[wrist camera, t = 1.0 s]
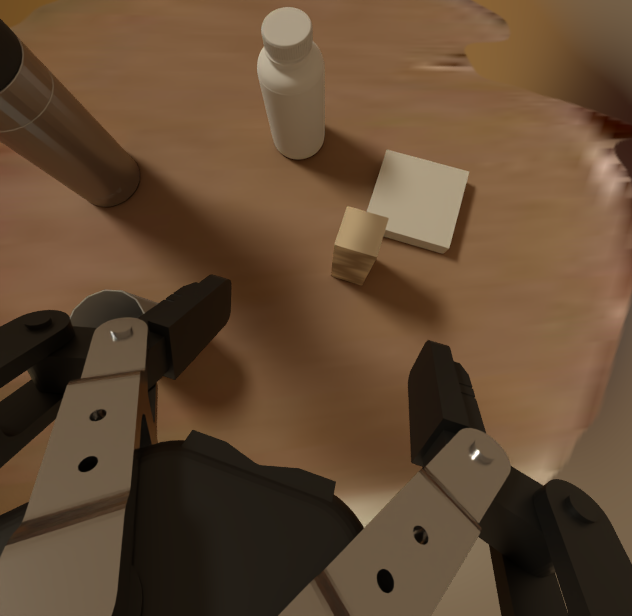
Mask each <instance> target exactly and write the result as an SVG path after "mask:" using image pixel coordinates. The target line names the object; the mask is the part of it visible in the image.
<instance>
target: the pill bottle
mask: <svg viewBox="0 0 632 616" xmlns="http://www.w3.org/2000/svg"><path fill="white" fill-rule="evenodd" d="M261 32H262V38H263V43H264V47H263V49H262V50H261V52H260V55H259V58H258V64H257V72H258V78H259V82H260V86H261V90H262V95H263V99H264V103H265V107H266V111H267V116H268V120H269V124H270V128H271V133H272V137H273V141H274V143H275V146H276V148H277V149H278V150H279V152H280V153H281V154H283V155H284V156H286V157H288V158H291V159H306V158H309V157H311V156H313V155H314V154H315V153H317V152H318V151H319V149H320V148H321V146H322V144H323V142H324V136H325V67H324V59H323V56H322V53H321V51H320V49H319V47H318V46H317V45H316V44H315V43H314V42H313V34H312V23H311V20H310V18H309V17H308V16H307V14H306V13H304V12H303V11H301V10H299V9H297V8H292V7H284V8H279V9H277V10H274V11H272V12H271V13H270V14H268V15H267V17H266V18H265V19H264V21H263V24H262V28H261Z"/></svg>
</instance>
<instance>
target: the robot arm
mask: <svg viewBox="0 0 632 616" xmlns="http://www.w3.org/2000/svg"><path fill="white" fill-rule="evenodd" d="M0 142H2V143H3V144H5V145H6V146H8V147H9V148H11V149H12V150H14V151H15V152H16V153H18V154H19V155H21V156H22V157H24V158H25V159H27V160H28V161H30V162H31V163H33V164H34V165H36V166H37V167H39V168H40V169H42V170H43V171H45V172H46V173H47V174H49V175H50V176H52V177H53V178H55V179H56V180H58V181H59V182H61V183H62V184H64V185H65V186H67V187H68V188H69V189H71V190H72V191H74V192H75V193H77V194H78V195H80V196H81V197H83V198H84V199H86V200H87V201H89V202H90V203H92V204H94V205H97V206H102V207H109V206H114V205H118V204H120V203H122V202H124V201H125V200H127V199H128V198H129V197H130V196H131V195H132V194H133V193H134V191H135V190H136V188H137V186H138V183H139V179H140V172H139V168H138V165H137V164H136V162H135V161H134V160H133V159H132V158H131V157H130V155H129V154H128V153H127V152H126V151H125V150H124V149H123V148H122V147H121V146H120V145H119V144H118V143H117V142H116V141H115V139H114V138H113V137H112V136H111V135H110V134H109V133H108V132H107V131H106V130H105V129H104V128H103V127H102V126H101V125H100V124H99V123H98V121H97V120H96V119H95V118H94V117H93V116H92V115H91V114H90V113H89V112H88V111H87V110H86V109H85V108H84V107H83V106H82V104H81V103H80V102H79V101H78V100H77V99H76V98H75V97H74V96H73V95H72V94H71V93H70V92H69V91H68V90H67V89H66V88H65V86H64V85H63V84H62V83H61V82H60V81H59V80H58V79H57V78H56V77H55V76H54V75H53V74H52V73H51V72H50V71H49V70H48V68H47V67H46V66H45V65H44V64H43V63H42V62H41V61H40V60H39V59H38V58H37V57H36V56H35V55H34V54H33V53H32V52H31V51H30V50H29V49H28V47H27V46H26V45H25V44H24V43H23V42H22V41H21V40H20V39H19V38H18V37H17V36H16V35H15V34H14V32H13V31H12V30H11V29H10V28H9V27H8V26H7V25H6V24H5V23H4V22H3V21H2V20H1V19H0ZM230 312H231V281H230V280H229V279H226V278H222V277H219V276H216V275H209V276H208V277H206V278H205V279H204V280H202V281H201V282H200V283H197V282H195V283H192V284H189V285H186V286H183V287H182V288H180V289H179V290H177V291H176V292H174V294H171V295H170V296H169V297H167V298H166V300H163V301H161V302H160V303H158V304H157V305H156V306H154V307H153V308H151V309H150V310H148V311H147V312H146V313H144V314H143V315H141V316H140V317H138V318H131V317H124V318H117V319H113V320H110V321H107V322H105V323H103V324H102V325H100V326H99V327H98V328H91V327H78V326H72V323H71V320H70V317H69V316H68V315H67V314H66V313H64V312H62V311H56V310H43V311H37V312H32V313H29V314H26V315H23V316H20V317H18V318H16V319H14V320H12V321H10V322H8V323H7V324H5V325H3V326H1V327H0V388H1V387H3V386H4V385H6V384H7V383H9V382H10V381H12V380H13V379H15V378H16V377H17V376H19V375H20V374H22V373H23V372H25V371H26V370H27V371H28V373H29V374H30V376H31V378H32V380H30V381H29V382H27V383H26V384H25V385H23V386H22V387H20V388H19V389H18V390H16V391H15V392H13V393H12V394H11V395H9V396H8V397H6V398H5V399H4V400H2V401H1V402H0V468H1V467H2V466H3V465H4V464H5V463H7V462H8V461H9V460H10V459H11V458H12V457H13V456H14V455H16V454H17V453H18V452H19V451H20V450H21V449H22V448H23V447H25V446H26V445H27V444H28V443H29V442H30V441H31V440H32V439H34V438H35V437H36V436H37V435H38V434H39V433H40V432H41V431H43V430H44V429H45V428H46V427H47V426H48V425H49V424H50V423H52V422H53V421H54V420H55V419H56V421H55V424H54V427H53V430H52V433H51V436H50V439H49V442H48V445H47V448H46V451H45V454H44V458H43V461H42V464H41V467H40V470H39V473H38V476H37V479H36V482H35V485H34V488H33V492H32V495H31V498H30V501H29V502H27V503H25V504H23V505H21V506H19V507H17V508H15V509H13V510H11V511H9V512H6V513H4V514H2V515H0V616H431V615H432V613H433V612H434V610H435V609H436V607H437V605H438V603H439V602H440V600H441V598H442V597H443V595H444V593H445V592H446V590H447V588H448V587H449V585H450V583H451V582H452V580H453V578H454V577H455V575H456V573H457V571H458V570H459V568H460V567H461V565H462V563H463V561H464V560H465V558H466V556H467V554H468V553H469V551H470V550H471V548H472V546H473V545H474V543H475V541H476V540H477V538H478V537H479V538H481V539H482V540H484V541H485V542H486V543H488V544H489V547H490V553H491V559H492V564H493V570H494V576H495V581H496V587H497V593H498V598H499V604H500V610H501V615H502V616H632V564H631V562H630V560H629V558H628V556H627V554H626V552H625V550H624V548H623V546H622V544H621V542H620V540H619V538H618V536H617V534H616V532H615V530H614V528H613V526H612V524H611V522H610V521H609V519H608V517H607V516H606V514H605V513H604V511H603V510H602V509H601V508H600V507H599V505H598V504H597V503H596V502H595V501H594V500H593V499H592V498H591V497H590V496H588V495H587V494H586V493H585V492H584V491H582V490H581V489H579V488H578V487H576V486H575V485H573V484H571V483H569V482H566V481H563V480H559V479H553V480H550V481H549V482H548V483H546V484H545V485H544V486H543V485H541V484H540V483H538V482H536V481H535V480H533V479H531V478H530V477H528V476H526V475H525V474H523V473H521V472H520V471H518V470H517V469H515V468H514V467H512V466H511V465H510V461H509V458H508V456H507V454H506V453H505V451H504V450H503V448H502V447H501V446H500V445H499V444H498V443H497V442H496V441H495V440H494V439H493V438H492V437H490V436H489V435H487V434H486V431H485V428H484V425H483V421H482V418H481V415H480V411H479V408H478V405H477V401H476V399H475V395H474V391H473V389H472V385H471V381H470V378H469V375H468V374H467V372H466V371H465V370H464V368H463V367H462V366H461V364H460V363H457V362H454V361H453V358H452V354H451V350H450V347H449V346H447V345H444V344H440V343H437V342H434V341H430V340H428V341H427V342H426V343H425V344H424V346H423V348H422V350H421V352H420V354H419V356H418V358H417V359H416V361H415V363H414V365H413V367H412V369H411V371H410V375H409V379H408V397H409V420H410V443H411V463H413V464H416V465H419V466H422V467H423V468H422V469H421V470H420V471H419V472H418V473H417V474H416V475H415V476H414V477H413V478H412V479H411V480H410V481H409V482H408V483H407V484H406V485H405V486H404V487H403V488H402V489H401V490H400V491H399V492H398V493H397V495H396V496H395V497H394V498H393V499H392V500H391V501H390V502H389V503H388V504H387V505H386V506H385V507H384V508H383V509H382V510H381V511H380V512H379V513H378V514H377V515H376V516H375V517H374V518H373V520H372V521H371V522H370V523H369V524H368V525H367V526H366V527H365V528H364V527H363V525H362V524H361V522H360V521H359V519H358V518H357V517H356V515H355V514H354V513H353V512H352V510H351V509H350V508H349V507H348V506H347V505H346V504H345V503H344V502H343V501H342V500H341V499H339V498H338V497H337V496H335V495H334V489H335V483H336V482H335V481H332V480H330V479H327V478H324V477H321V476H319V475H316V474H313V473H310V472H308V471H305V470H302V469H299V468H288V467H275V466H263V465H258V464H256V463H254V462H253V461H252V460H250V459H249V458H248V457H246V456H245V455H243V454H242V453H241V452H239V451H238V450H237V449H235V448H234V447H233V446H231V445H230V444H228V443H227V442H225V441H222V440H219V439H217V438H214V437H211V436H208V435H206V434H203V433H200V432H197V431H195V430H192V431H191V433H190V434H189V436H188V437H187V438H186V440H185V441H184V440H176V441H166V442H160V443H158V440H157V402H158V384H157V381H158V380H159V379H160V378H161V377H162V376H165V377H168V378H171V379H174V380H175V379H176V378H177V377H178V376H179V375H180V374H181V373H182V372H183V371H184V370H185V369H186V367H187V366H188V365H189V364H190V363H191V362H192V361H193V360H194V359H195V358H196V357H197V355H198V354H199V353H200V352H201V351H202V350H203V349H204V348H205V347H206V346H207V345H208V343H209V342H210V341H211V340H212V339H213V338H214V337H215V336H216V335H217V334H218V333H219V331H220V330H221V329H222V328H223V327H224V326H225V325H226V323H227V322H228V319H229V317H230ZM555 572H556V575H557V578H558V581H559V584H560V587H559V584H558V581H557V578H556V575H555ZM560 588H561V591H562V594H563V597H564V600H565V603H566V606H567V609H566V606H565V603H564V600H563V597H562V594H561V591H560ZM567 610H568V612H567Z"/></svg>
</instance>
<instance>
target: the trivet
mask: <svg viewBox="0 0 632 616" xmlns="http://www.w3.org/2000/svg"><path fill="white" fill-rule="evenodd" d="M468 175H469V171H465V170H461V169H457V168H454V167H450V166H446V165H443V164H439V163H435V162H431V161H428V160H424V159H420V158H416V157H413V156H409V155H405V154H402V153H398V152H394V151H390V150H386V153H385V157H384V160H383V163H382V166H381V169H380V172H379V175H378V178H377V181H376V185H375V188H374V191H373V194H372V197H371V200H370V203H369V206H368V209H367V212H370V213H373V214H377V215H380V216H384V217H387V218H389V220H388V223H387V226H386V229H385V233H384V237H387V238H390V239H394V240H397V241H401V242H404V243H408V244H411V245H414V246H418V247H421V248H425V249H428V250H431V251H435V252H438V253H442V254H443V253H445V252H446V251H447V250H448V249H449V248H450V244H451V240H452V236H453V232H454V228H455V225H456V221H457V217H458V213H459V209H460V205H461V202H462V198H463V194H464V190H465V186H466V182H467V178H468Z"/></svg>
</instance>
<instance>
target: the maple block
mask: <svg viewBox="0 0 632 616" xmlns="http://www.w3.org/2000/svg"><path fill="white" fill-rule="evenodd" d="M388 220H389V218H387V217H384V216H380V215H377V214H373V213H370V212H366V211H363V210H359V209H356V208H352V207H349V206H347V208H346V211H345V214H344V217H343V220H342V223H341V226H340V229H339V232H338V235H337V238H336V241H335V244H334V253H333V262H332V272H331V276H333V277H336V278H339V279H342V280H345V281H349V282H352V283H355V284H358V285H363V283H364V281H365V279H366V277H367V275H368V273H369V271H370V270H371V268H372V266H373V264H374V262H375V260H376V258H377V256H378V252H379V249H380V246H381V243H382V239H383V236H384V233H385V229H386V226H387V223H388Z"/></svg>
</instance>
